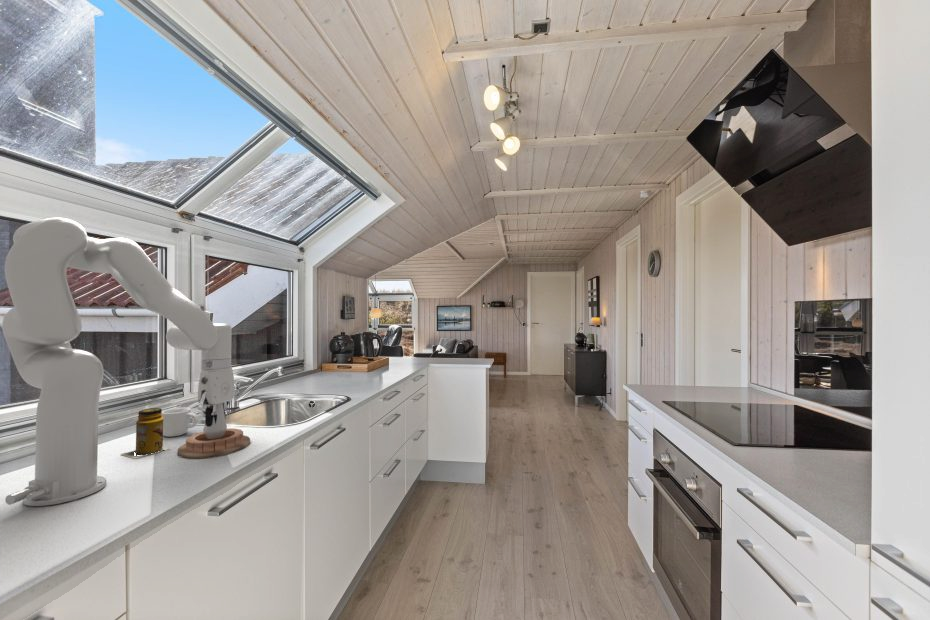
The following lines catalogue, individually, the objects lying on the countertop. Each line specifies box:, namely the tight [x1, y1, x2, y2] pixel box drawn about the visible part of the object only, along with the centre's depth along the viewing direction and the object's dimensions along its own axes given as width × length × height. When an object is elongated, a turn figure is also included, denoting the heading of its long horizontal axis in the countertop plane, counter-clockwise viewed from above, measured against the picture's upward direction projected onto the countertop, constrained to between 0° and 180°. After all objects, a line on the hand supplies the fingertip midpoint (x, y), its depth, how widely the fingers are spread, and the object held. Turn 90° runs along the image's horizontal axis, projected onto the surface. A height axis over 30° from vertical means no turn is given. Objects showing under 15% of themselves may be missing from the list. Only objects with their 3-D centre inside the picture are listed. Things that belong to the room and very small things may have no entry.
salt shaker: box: [202, 403, 227, 439], centre depth 113 cm, size 6×6×13 cm
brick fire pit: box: [177, 427, 251, 460], centre depth 113 cm, size 18×18×4 cm
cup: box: [162, 407, 199, 438], centre depth 125 cm, size 11×8×8 cm
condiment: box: [120, 407, 170, 460], centre depth 109 cm, size 7×8×12 cm
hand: (215, 425), depth 113 cm, fingers closed on salt shaker, 3 cm apart
